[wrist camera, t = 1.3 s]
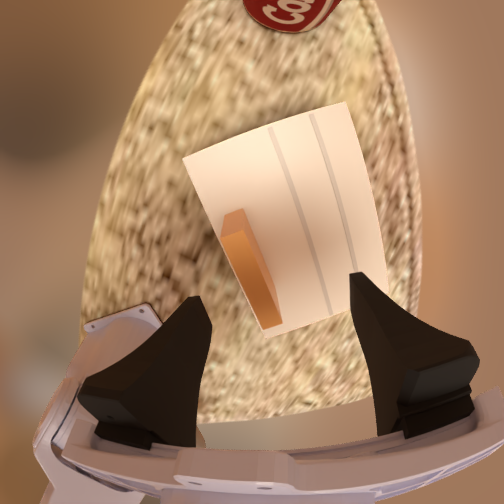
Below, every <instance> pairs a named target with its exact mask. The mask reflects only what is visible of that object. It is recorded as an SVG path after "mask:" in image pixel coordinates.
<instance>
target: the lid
mask: <svg viewBox="0 0 504 504" xmlns="http://www.w3.org/2000/svg"><path fill="white" fill-rule="evenodd" d="M182 160H183V162H184V165H185V167H186V169H187V171H188V174H189V176H190V178H191V180H192V183H193V185H194V187H195V190H196V192H197V194H198V196H199V198H200V201H201V203H202V205H203V207H204V210H205V212H206V214H207V216H208V218H209V221H210V223H211V225H212V227H213V229H214V232H215V234H216V236H217V238H218V240H219V242H220V245H221V247H222V249H223V251H224V253H225V255H226V258H227V260H228V262H229V264H230V266H231V268H232V270H233V272H234V275H235V277H236V279H237V281H238V283H239V285H240V287H241V289H242V291H243V293H244V296H245V298H246V300H247V302H248V304H249V306H250V308H251V310H252V312H253V314H254V316H255V318H256V320H257V322H258V324H259V327H260V329H261V331H262V333H263V335H264V337H265V339H267V338H271V337H274V336H277V335H280V334H283V333H286V332H289V331H292V330H295V329H298V328H301V327H304V326H306V325H309V324H312V323H315V322H318V321H320V320H323V319H326V318H328V317H331V316H334V315H336V314H339V313H342V312H344V311H347V310H349V309H350V285H349V274H350V273H356V272H361V271H362V272H363V273H364V274H365V275H366V276H367V277H368V278H369V279H370V280H371V281H372V282H373V283H374V284H375V285H376V286H377V287H378V288H379V289H380V290H381V291H383V292H384V293H385V294H388V293H389V286H388V278H387V270H386V263H385V256H384V250H383V244H382V238H381V232H380V227H379V222H378V217H377V212H376V207H375V202H374V198H373V194H372V189H371V185H370V181H369V177H368V173H367V169H366V166H365V162H364V158H363V155H362V151H361V148H360V144H359V141H358V138H357V135H356V131H355V128H354V125H353V122H352V119H351V116H350V113H349V110H348V108H347V105H346V102H341V103H337V104H333V105H329V106H326V107H322V108H318V109H315V110H311V111H308V112H305V113H301V114H298V115H295V116H292V117H288V118H285V119H282V120H279V121H276V122H273V123H270V124H267V125H264V126H262V127H259V128H256V129H253V130H251V131H248V132H245V133H242V134H240V135H237V136H235V137H232V138H230V139H227V140H225V141H222V142H220V143H217V144H215V145H212V146H210V147H208V148H205V149H203V150H201V151H198V152H196V153H194V154H191V155H189V156H187V157H185V158H183V159H182Z"/></svg>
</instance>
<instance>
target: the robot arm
mask: <svg viewBox="0 0 504 504" xmlns="http://www.w3.org/2000/svg"><path fill="white" fill-rule="evenodd" d="M349 285H350V309H351V314H352V318H353V323H354V327H355V330H356V332H357V335H358V338H359V341H360V344H361V347H362V350H363V353H364V356H365V359H366V362H367V366H368V370H369V375H370V381H371V386H372V392H373V399H374V406H375V414H376V423H377V435H378V437H375V438H370V439H365V440H361V441H355V442H350V443H344V444H338V445H331V446H324V447H316V448H307V449H296V450H279V451H269V450H267V451H266V450H224V449H207V448H196V420H197V407H198V397H199V389H200V383H201V378H202V374H203V371H204V367H205V363H206V359H207V355H208V351H209V347H210V343H211V334H212V323H211V321H210V319H209V317H208V314H207V312H206V310H205V307H204V305H203V303H202V300H201V298H200V296H193V297H188V298H187V299H186V300H185V301H184V302H183V303H182V304H181V305H180V306H179V307H178V308H177V309H176V310H175V312H174V313H173V314H172V315H171V316H170V317H169V318H168V319H167V320H166V321H165V322H164V323H163V324H162V323H161V321H160V320H159V318H158V317H157V315H156V314H155V312H154V311H153V309H152V308H151V306H150V305H149V304H146V303H145V304H142V305H139V306H136V307H133V308H130V309H127V310H124V311H121V312H118V313H115V314H112V315H109V316H106V317H103V318H100V319H97V320H94V321H91V322H89V323H86V324H85V325H84V329H85V331H86V332H87V333H88V334H87V336H86V337H85V339H84V340H83V342H82V344H81V345H80V347H79V349H78V350H77V352H76V354H75V356H74V357H73V359H72V361H71V362H70V364H69V366H68V368H67V372H66V378H65V379H64V380H63V381H62V382H61V384H60V385H59V387H58V388H57V390H56V391H55V393H54V395H53V396H52V398H51V400H50V402H49V404H48V405H47V407H46V409H45V411H44V414H43V416H42V418H41V420H40V423H39V426H38V429H37V431H36V433H35V436H34V439H33V446H34V449H33V451H34V455H35V457H36V459H37V461H38V462H39V464H40V466H41V467H42V469H43V470H44V472H45V474H46V475H47V477H48V478H49V480H50V482H49V484H48V486H47V488H46V491H45V493H44V495H43V497H42V499H41V502H40V504H139V503H140V501H141V500H142V499H143V497H144V496H145V494H146V495H150V496H153V497H156V498H160V499H161V501H160V504H375V501H379V500H383V499H386V498H390V497H393V496H396V495H399V494H403V493H406V492H409V491H412V490H415V489H417V488H420V487H423V486H425V485H428V484H430V483H433V482H435V481H438V480H440V479H442V478H445V477H447V476H449V475H451V474H454V473H455V472H458V471H460V470H462V469H464V468H466V467H468V466H470V465H472V464H474V463H476V462H478V461H480V460H482V459H484V458H485V457H487V456H489V455H490V454H491V453H493V452H494V451H495V450H497V449H498V448H499V447H500V446H502V445H503V444H504V398H503V396H502V393H501V391H500V389H499V387H498V386H496V387H494V388H492V389H490V390H488V391H486V392H484V393H481V394H480V395H478V396H476V397H475V398H474V399H473V400H472V399H471V397H470V393H471V391H472V390H471V387H470V385H469V383H470V381H471V380H472V378H473V376H474V375H475V373H476V371H477V369H478V367H479V363H480V359H479V358H478V356H477V354H476V351H475V350H474V348H473V346H472V345H471V343H470V342H469V341H468V340H465V339H462V338H459V337H456V336H453V335H450V334H448V333H445V332H443V331H440V330H438V329H436V328H434V327H432V326H430V325H428V324H427V323H425V322H423V321H421V320H419V319H418V318H416V317H414V316H413V315H411V314H410V313H408V312H407V311H405V310H404V309H403V308H401V307H400V306H399V305H398V304H396V303H395V302H394V301H393V300H392V299H390V298H389V297H388V296H387V295H386V294H385V293H384V292H383V291H381V290H380V289H379V288H378V287H377V286H376V285H375V284H374V283H373V282H372V281H371V280H370V279H369V278H368V277H367V276H366V275H365V274H364V273H363V272H362V271H361V272H356V273H350V274H349ZM141 309H143V310H144V311H142V310H141ZM93 325H94V326H93Z"/></svg>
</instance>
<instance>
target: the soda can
mask: <svg viewBox="0 0 504 504" xmlns="http://www.w3.org/2000/svg"><path fill="white" fill-rule="evenodd" d="M340 1H341V0H243V3H244V6H245V8H246V10H247V12H248V13H249V14H250V15H251V16H252V17H253V18H254V19H255V20H256V21H258V22H259V23H261V24H262V25H264V26H266V27H268V28H271V29H274V30H278V31H282V32H304V31H308V30H311V29H314V28H316V27H317V26H319V25H320V24H322V23H323V22H324V21H325V19H326V18H327V17H328V16H329V14H330V13H331V12H332V11H333V10H334V8H335V7H336V6H337V5H338V4H339V3H340Z"/></svg>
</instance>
